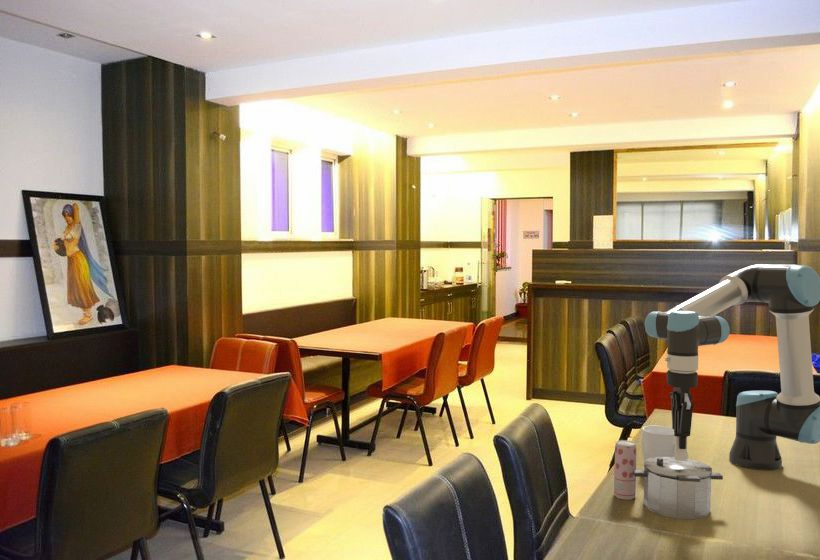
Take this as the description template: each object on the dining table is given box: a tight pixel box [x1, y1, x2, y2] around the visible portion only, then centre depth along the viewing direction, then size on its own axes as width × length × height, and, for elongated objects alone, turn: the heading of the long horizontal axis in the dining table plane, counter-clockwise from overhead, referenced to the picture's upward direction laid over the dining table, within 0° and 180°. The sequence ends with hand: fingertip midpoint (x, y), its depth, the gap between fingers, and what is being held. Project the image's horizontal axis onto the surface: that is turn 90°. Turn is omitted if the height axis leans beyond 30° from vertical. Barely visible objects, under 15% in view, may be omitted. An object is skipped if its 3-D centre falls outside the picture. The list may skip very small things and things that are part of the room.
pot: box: [633, 467, 724, 520], centre depth 185 cm, size 22×16×10 cm
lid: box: [643, 457, 713, 482], centre depth 184 cm, size 17×20×3 cm
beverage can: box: [613, 439, 637, 501], centre depth 193 cm, size 6×6×15 cm
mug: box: [641, 424, 689, 462], centre depth 213 cm, size 15×11×13 cm
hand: (680, 459), depth 183 cm, fingers closed
